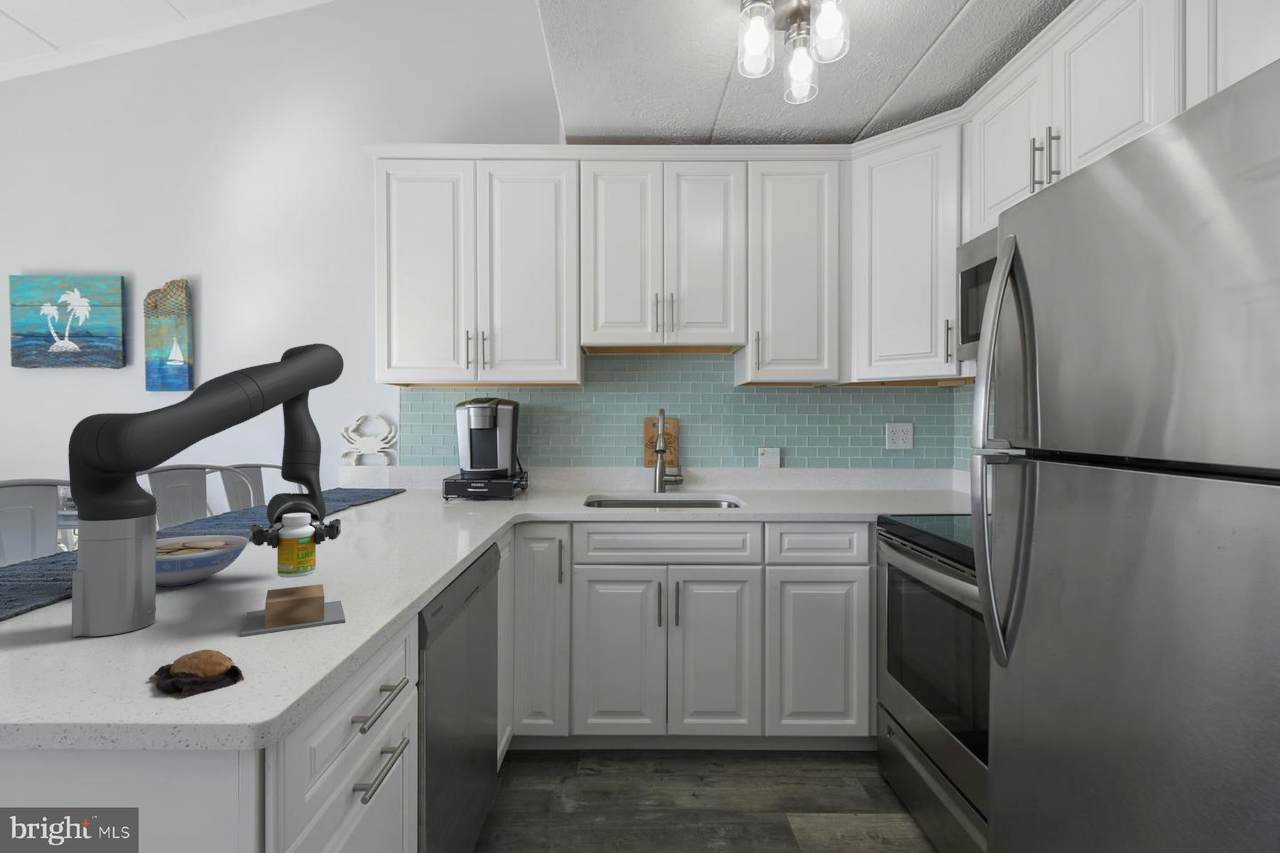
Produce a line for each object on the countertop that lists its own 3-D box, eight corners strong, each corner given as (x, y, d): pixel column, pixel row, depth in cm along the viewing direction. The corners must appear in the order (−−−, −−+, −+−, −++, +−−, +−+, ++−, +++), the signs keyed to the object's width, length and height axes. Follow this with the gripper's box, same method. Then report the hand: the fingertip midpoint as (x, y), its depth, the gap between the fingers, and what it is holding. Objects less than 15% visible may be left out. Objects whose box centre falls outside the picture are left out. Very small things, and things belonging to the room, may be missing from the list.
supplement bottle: (298, 579, 94) (298, 518, 94) (269, 577, 95) (269, 516, 95) (323, 570, 99) (323, 512, 99) (295, 568, 100) (295, 511, 100)
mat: (241, 636, 89) (241, 633, 89) (246, 614, 100) (247, 612, 100) (345, 622, 96) (345, 619, 96) (340, 602, 107) (340, 600, 107)
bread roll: (144, 683, 74) (144, 653, 74) (223, 662, 81) (223, 635, 81) (169, 708, 68) (169, 676, 68) (252, 683, 74) (252, 653, 74)
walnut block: (265, 628, 92) (265, 602, 92) (267, 614, 98) (267, 590, 98) (324, 620, 96) (324, 595, 96) (322, 607, 102) (322, 584, 102)
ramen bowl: (251, 587, 116) (251, 545, 116) (93, 606, 103) (93, 559, 103) (247, 562, 137) (247, 527, 137) (115, 576, 124) (115, 536, 124)
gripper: (250, 505, 106) (242, 519, 91) (340, 500, 113) (347, 513, 98) (250, 547, 106) (242, 568, 91) (340, 539, 113) (347, 558, 99)
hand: (296, 539), depth 95 cm, fingers closed on supplement bottle, 5 cm apart
